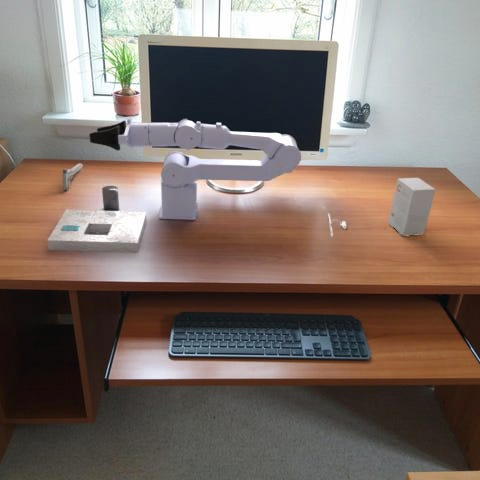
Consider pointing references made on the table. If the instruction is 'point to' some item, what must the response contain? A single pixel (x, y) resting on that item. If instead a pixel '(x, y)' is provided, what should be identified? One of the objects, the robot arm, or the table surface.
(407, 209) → the small box
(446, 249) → the table surface
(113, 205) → the cylinder
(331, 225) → the picture light
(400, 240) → the table surface
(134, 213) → the plate
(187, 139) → the robot arm
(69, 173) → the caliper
